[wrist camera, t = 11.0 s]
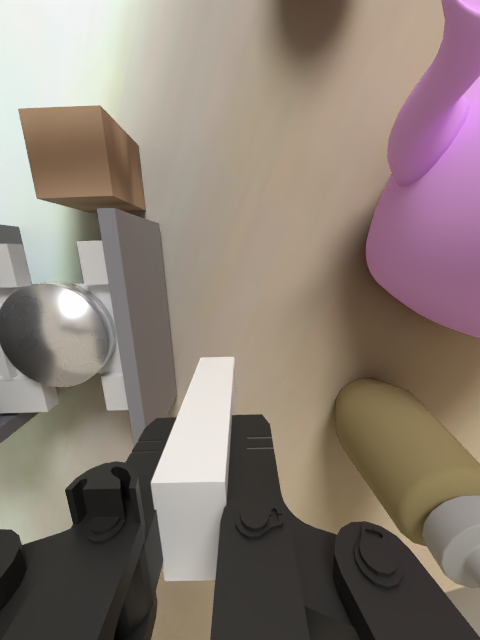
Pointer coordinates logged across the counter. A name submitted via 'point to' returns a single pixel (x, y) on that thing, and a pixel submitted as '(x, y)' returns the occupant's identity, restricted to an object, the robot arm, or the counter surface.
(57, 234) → the counter surface
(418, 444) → the squeeze bottle
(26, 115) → the brown wooden block
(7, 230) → the box
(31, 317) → the disc
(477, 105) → the teapot
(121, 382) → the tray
